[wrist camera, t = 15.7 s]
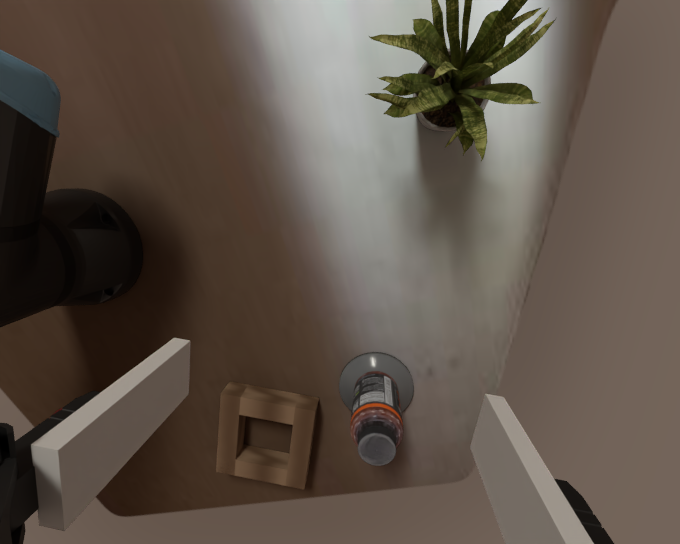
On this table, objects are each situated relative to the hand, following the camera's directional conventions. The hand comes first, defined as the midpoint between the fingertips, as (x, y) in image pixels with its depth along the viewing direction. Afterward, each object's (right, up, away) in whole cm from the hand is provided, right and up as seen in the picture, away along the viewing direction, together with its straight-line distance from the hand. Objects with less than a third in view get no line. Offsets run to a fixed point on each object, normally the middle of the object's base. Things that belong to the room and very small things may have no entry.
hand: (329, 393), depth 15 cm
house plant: (+12, +25, +23) cm, 36 cm away
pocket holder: (-10, -18, +35) cm, 40 cm away
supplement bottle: (+5, -10, +31) cm, 33 cm away
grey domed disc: (+5, -10, +32) cm, 34 cm away
